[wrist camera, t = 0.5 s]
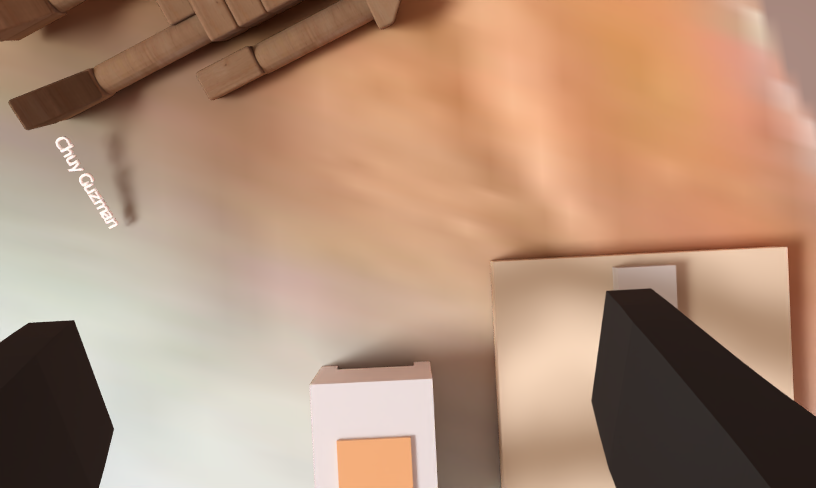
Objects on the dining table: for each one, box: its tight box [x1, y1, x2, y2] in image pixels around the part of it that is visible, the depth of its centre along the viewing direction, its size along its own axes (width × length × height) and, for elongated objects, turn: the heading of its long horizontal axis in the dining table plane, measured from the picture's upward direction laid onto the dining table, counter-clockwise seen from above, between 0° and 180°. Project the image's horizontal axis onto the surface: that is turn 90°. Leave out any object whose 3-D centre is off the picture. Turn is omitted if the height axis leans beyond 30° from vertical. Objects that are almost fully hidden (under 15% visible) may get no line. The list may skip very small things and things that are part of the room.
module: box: [310, 361, 438, 488], centre depth 30 cm, size 7×5×4 cm
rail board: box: [490, 247, 794, 488], centre depth 30 cm, size 19×13×5 cm
